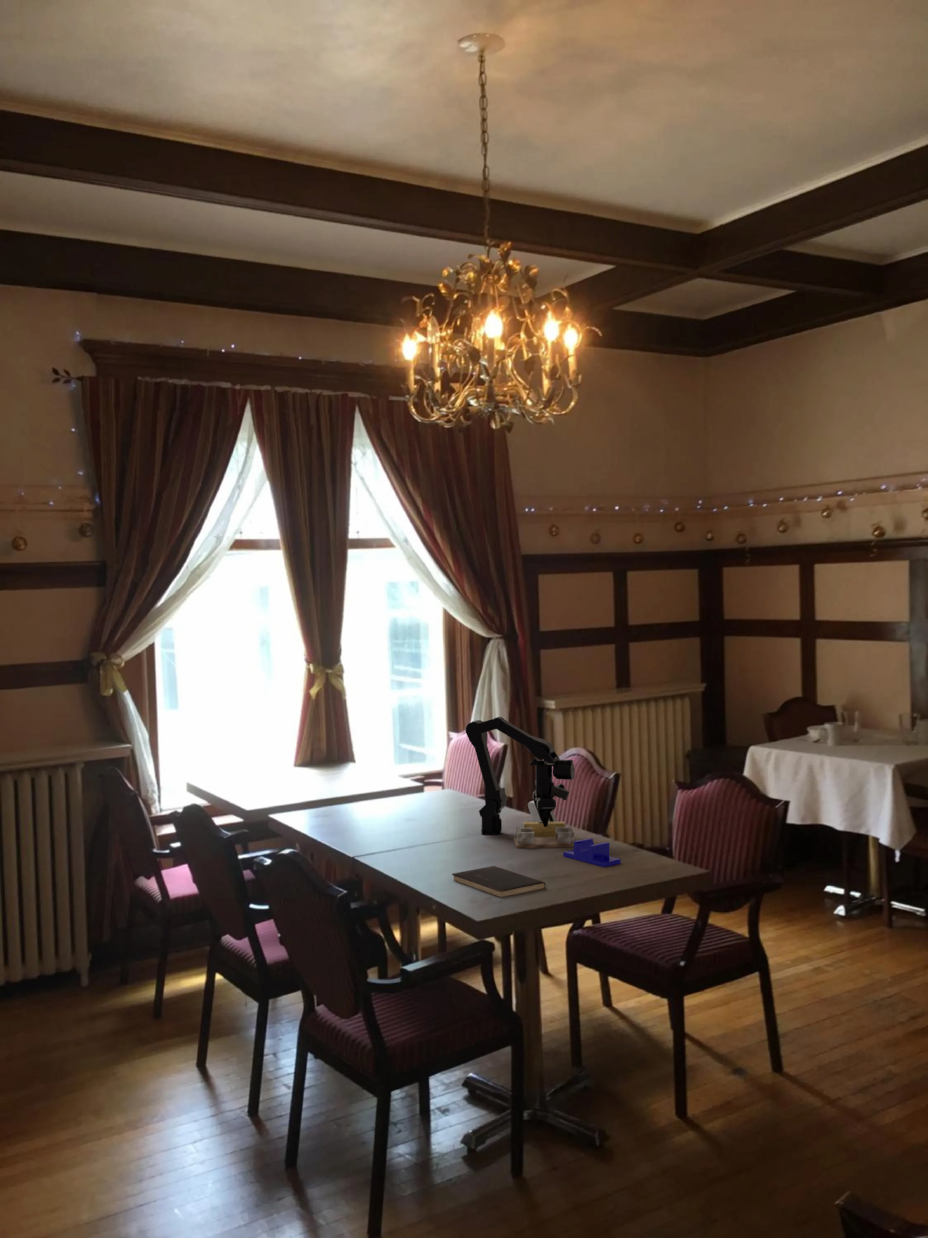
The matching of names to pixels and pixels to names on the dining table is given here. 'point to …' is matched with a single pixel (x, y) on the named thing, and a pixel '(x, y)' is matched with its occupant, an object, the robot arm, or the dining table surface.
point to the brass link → (544, 828)
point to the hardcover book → (498, 881)
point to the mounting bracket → (592, 853)
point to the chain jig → (544, 838)
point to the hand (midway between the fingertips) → (544, 824)
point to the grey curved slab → (536, 816)
